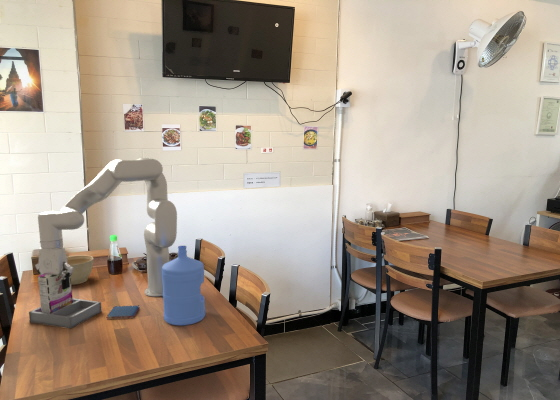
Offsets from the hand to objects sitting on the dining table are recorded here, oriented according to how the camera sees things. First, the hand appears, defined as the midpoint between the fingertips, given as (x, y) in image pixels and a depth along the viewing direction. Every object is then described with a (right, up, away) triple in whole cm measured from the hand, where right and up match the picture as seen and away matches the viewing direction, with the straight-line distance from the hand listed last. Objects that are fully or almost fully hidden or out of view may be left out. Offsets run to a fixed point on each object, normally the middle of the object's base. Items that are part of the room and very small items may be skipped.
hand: (56, 287), depth 164 cm
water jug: (+50, -12, -1) cm, 51 cm away
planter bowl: (-11, -6, +40) cm, 42 cm away
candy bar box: (0, -10, +2) cm, 11 cm away
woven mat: (+25, -12, +3) cm, 28 cm away
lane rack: (+4, -12, 0) cm, 12 cm away
